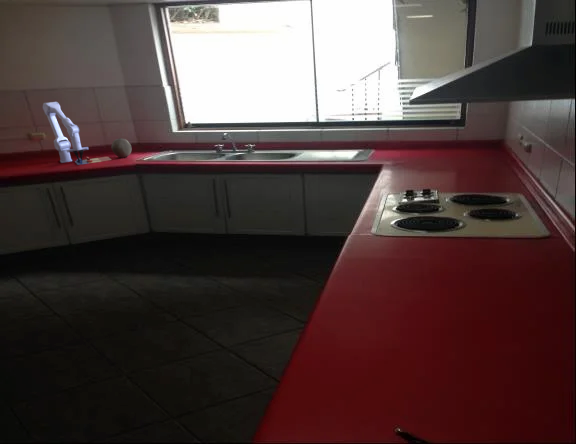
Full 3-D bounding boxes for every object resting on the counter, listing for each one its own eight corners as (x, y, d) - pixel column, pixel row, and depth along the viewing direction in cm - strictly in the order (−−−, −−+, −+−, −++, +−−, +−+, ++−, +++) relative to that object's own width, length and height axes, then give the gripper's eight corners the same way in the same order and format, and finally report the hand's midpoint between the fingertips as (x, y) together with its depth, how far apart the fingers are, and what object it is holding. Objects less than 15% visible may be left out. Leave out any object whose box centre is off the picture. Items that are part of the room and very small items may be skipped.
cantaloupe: (114, 157, 329) (110, 138, 323) (133, 155, 332) (129, 136, 327) (113, 160, 316) (109, 141, 311) (132, 158, 320) (129, 139, 314)
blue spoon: (84, 162, 311) (83, 159, 310) (78, 163, 309) (77, 160, 308) (81, 160, 320) (81, 157, 319) (76, 161, 318) (75, 157, 317)
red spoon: (85, 160, 320) (84, 157, 319) (90, 159, 322) (89, 156, 321) (87, 162, 311) (86, 159, 310) (93, 162, 313) (92, 158, 312)
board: (74, 161, 319) (74, 161, 319) (107, 156, 331) (107, 156, 331) (77, 165, 306) (77, 164, 306) (112, 160, 318) (111, 159, 318)
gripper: (66, 144, 301) (70, 163, 306) (87, 141, 308) (91, 159, 313) (64, 143, 306) (69, 161, 311) (86, 140, 314) (89, 158, 319)
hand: (80, 160), depth 313 cm, fingers closed on blue spoon
